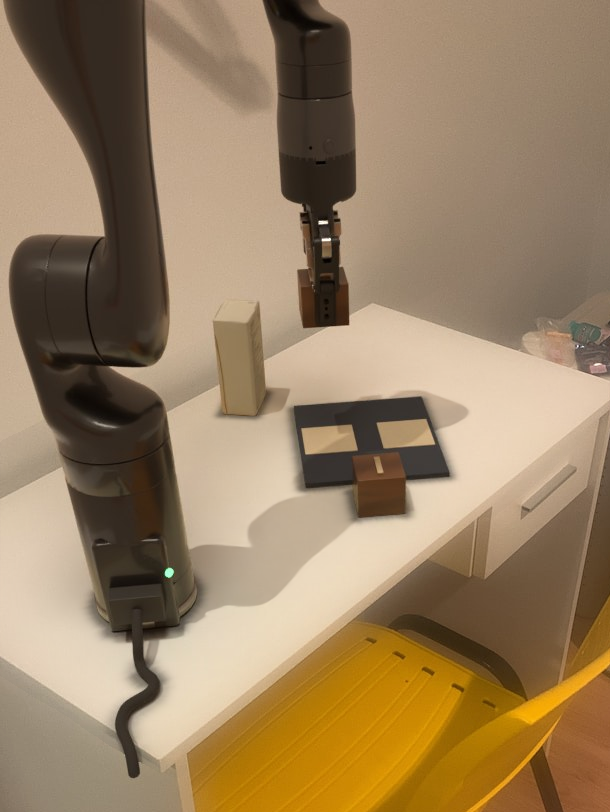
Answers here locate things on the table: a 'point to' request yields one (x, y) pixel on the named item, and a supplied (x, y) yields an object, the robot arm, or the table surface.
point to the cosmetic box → (240, 356)
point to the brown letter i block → (379, 484)
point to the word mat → (366, 438)
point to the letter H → (309, 300)
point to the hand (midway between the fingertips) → (323, 314)
